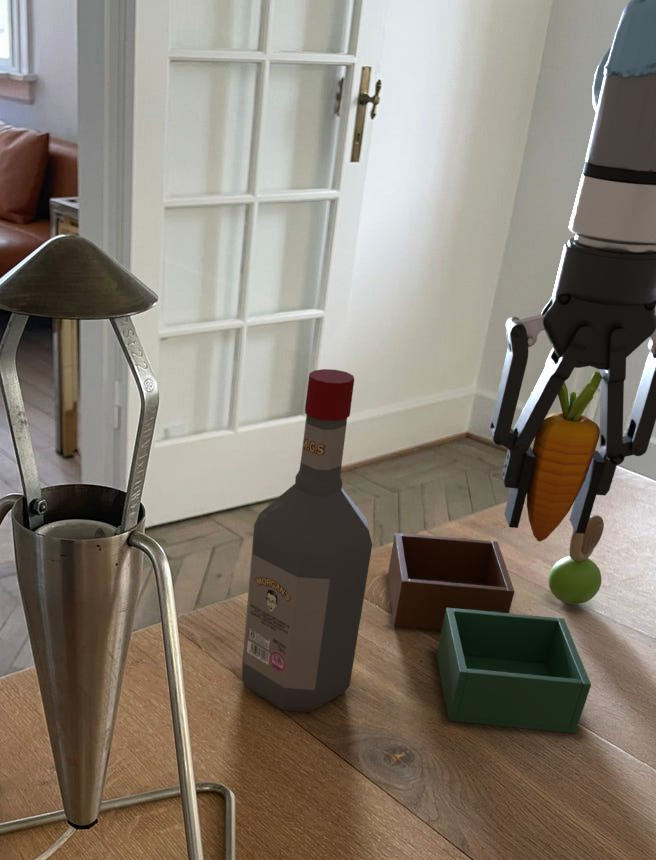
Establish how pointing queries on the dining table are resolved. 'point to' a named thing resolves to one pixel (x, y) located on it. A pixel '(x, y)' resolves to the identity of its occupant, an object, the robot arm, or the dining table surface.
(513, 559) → the dining table surface
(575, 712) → the green bin
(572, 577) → the snail figurine
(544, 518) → the carrot
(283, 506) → the liquor
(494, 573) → the brown bin
